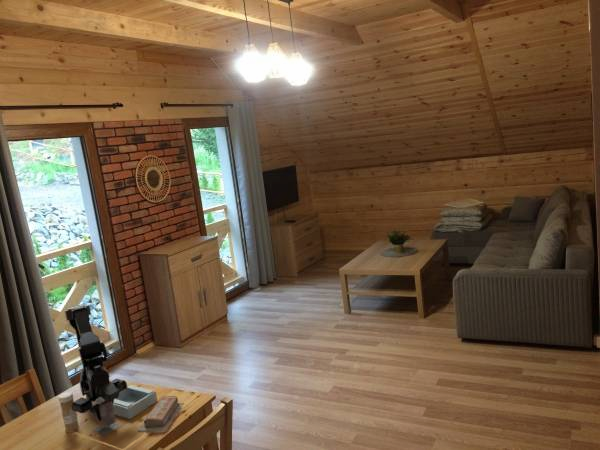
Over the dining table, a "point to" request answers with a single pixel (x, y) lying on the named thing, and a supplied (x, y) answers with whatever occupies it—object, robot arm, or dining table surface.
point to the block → (105, 413)
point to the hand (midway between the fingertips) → (104, 417)
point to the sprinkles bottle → (68, 412)
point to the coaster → (106, 429)
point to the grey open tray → (133, 401)
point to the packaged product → (161, 415)
